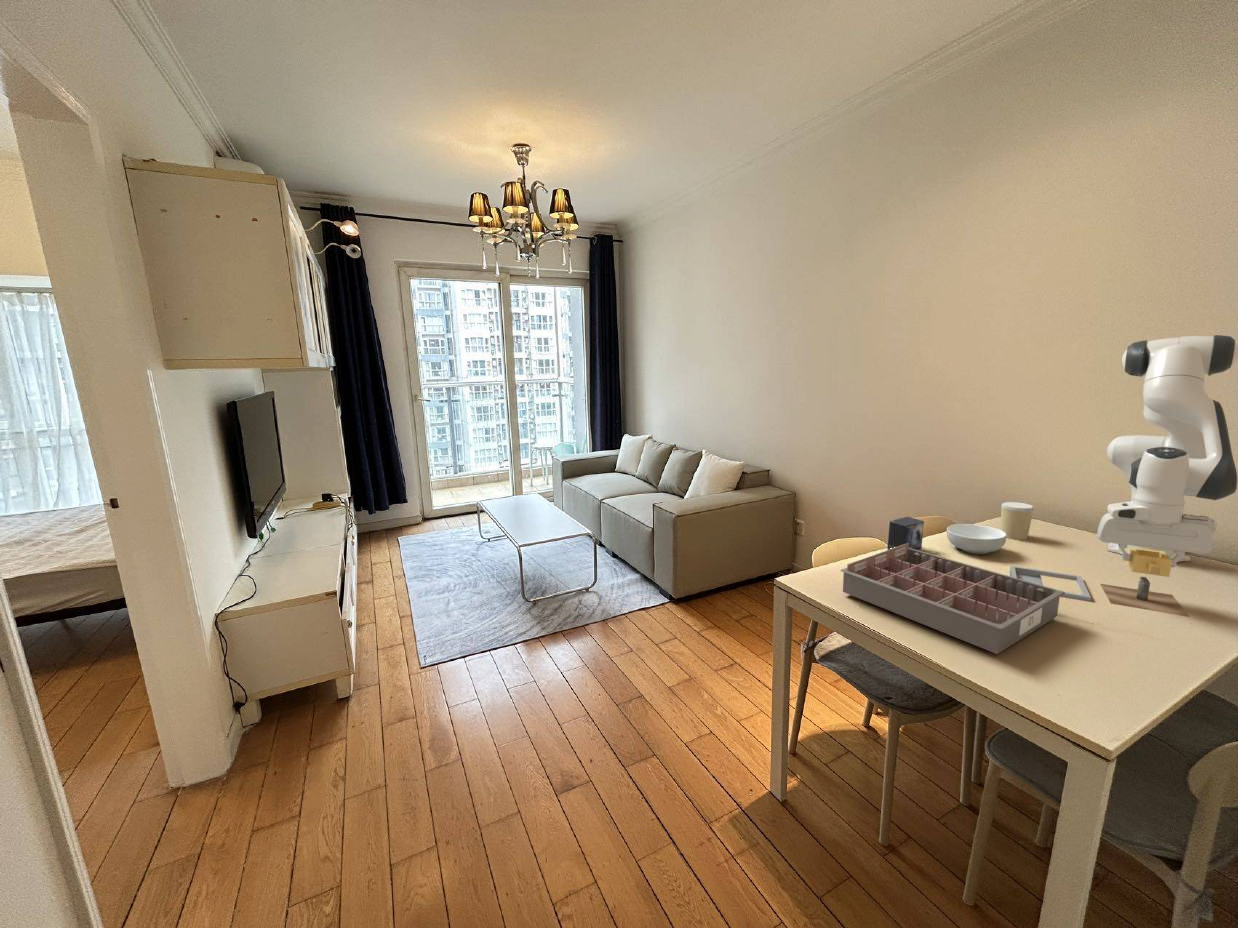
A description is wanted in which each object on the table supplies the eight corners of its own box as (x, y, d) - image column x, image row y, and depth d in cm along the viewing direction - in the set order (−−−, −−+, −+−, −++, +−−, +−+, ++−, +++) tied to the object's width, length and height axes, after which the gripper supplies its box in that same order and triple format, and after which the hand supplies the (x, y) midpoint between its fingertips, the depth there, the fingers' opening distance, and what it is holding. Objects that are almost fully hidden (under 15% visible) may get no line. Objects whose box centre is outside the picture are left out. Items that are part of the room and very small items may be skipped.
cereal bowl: (958, 538, 184) (960, 520, 183) (1012, 551, 170) (1015, 531, 169) (936, 549, 175) (937, 529, 174) (991, 563, 161) (993, 542, 160)
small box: (904, 554, 171) (906, 525, 169) (886, 549, 176) (888, 520, 174) (922, 548, 175) (925, 520, 173) (905, 543, 181) (907, 515, 179)
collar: (1126, 563, 134) (1128, 547, 133) (1161, 567, 130) (1164, 551, 129) (1135, 576, 126) (1137, 559, 125) (1173, 581, 123) (1176, 564, 122)
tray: (1009, 573, 153) (1010, 565, 152) (1079, 584, 144) (1080, 576, 143) (1012, 592, 140) (1013, 584, 140) (1089, 606, 131) (1091, 597, 131)
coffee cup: (1025, 533, 186) (1029, 502, 184) (1034, 541, 178) (1037, 509, 176) (995, 531, 190) (998, 500, 188) (1002, 539, 182) (1005, 507, 180)
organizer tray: (999, 662, 109) (1003, 620, 107) (838, 596, 143) (839, 563, 141) (1061, 621, 124) (1066, 584, 123) (903, 570, 159) (905, 540, 157)
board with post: (1099, 588, 141) (1102, 565, 139) (1171, 600, 133) (1175, 575, 131) (1109, 608, 129) (1113, 583, 128) (1189, 622, 121) (1194, 595, 120)
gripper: (1213, 513, 123) (1203, 566, 126) (1099, 504, 135) (1093, 552, 137) (1223, 520, 118) (1212, 575, 121) (1104, 510, 130) (1097, 560, 132)
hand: (1148, 563), depth 129 cm, fingers closed on collar, 7 cm apart
